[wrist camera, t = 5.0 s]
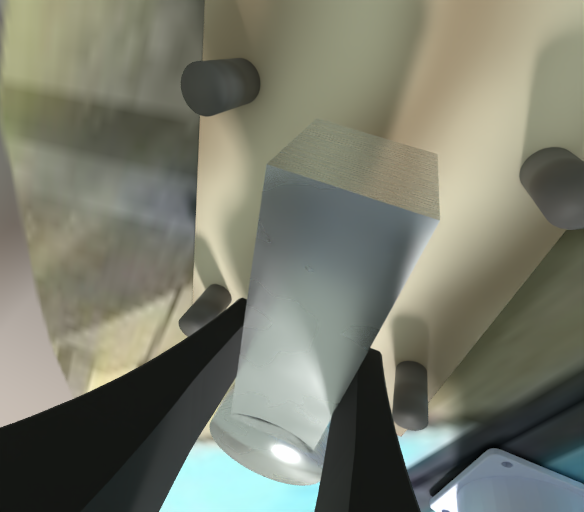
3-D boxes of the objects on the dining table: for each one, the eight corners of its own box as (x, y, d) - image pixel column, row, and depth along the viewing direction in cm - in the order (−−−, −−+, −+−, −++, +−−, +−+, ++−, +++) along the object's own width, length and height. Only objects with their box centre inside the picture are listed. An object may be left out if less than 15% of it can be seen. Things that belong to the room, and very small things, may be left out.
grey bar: (469, 163, 8) (487, 236, 6) (328, 420, 17) (309, 497, 14) (288, 109, 9) (226, 151, 6) (242, 383, 18) (208, 450, 15)
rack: (735, -27, 8) (924, -69, 5) (402, 416, 19) (398, 484, 16) (231, -124, 10) (148, -198, 7) (201, 332, 21) (165, 379, 18)
